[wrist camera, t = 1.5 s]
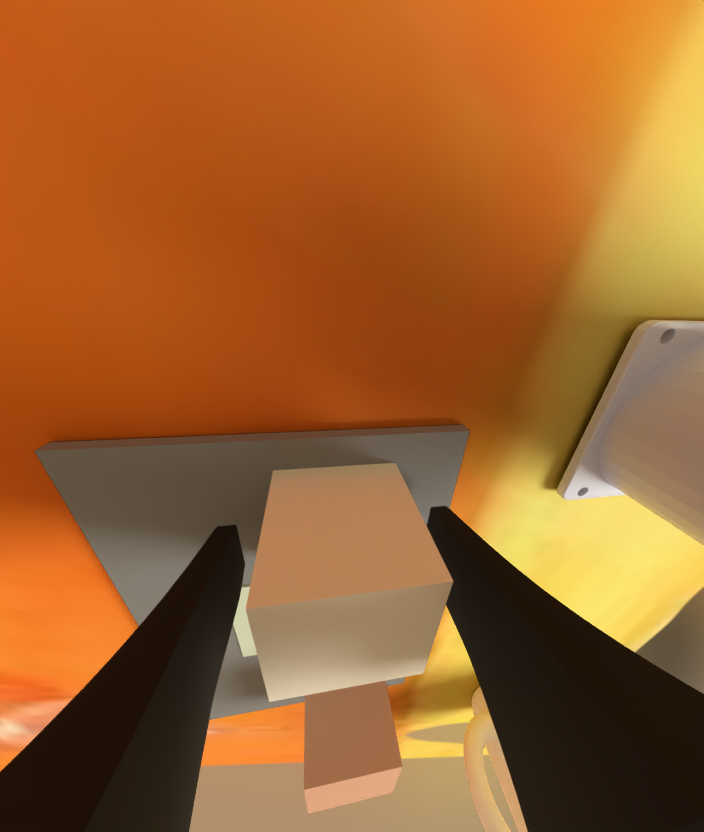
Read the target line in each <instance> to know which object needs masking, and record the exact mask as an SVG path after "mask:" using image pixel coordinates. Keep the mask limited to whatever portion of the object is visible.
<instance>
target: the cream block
mask: <svg viewBox="0 0 704 832" xmlns="http://www.w3.org/2000/svg"><path fill="white" fill-rule="evenodd" d="M452 584H453V580H452V577H451V575H450V573H449V571H448V569H447V567H446V565H445V563H444V561H443V559H442V557H441V555H440V553H439V551H438V549H437V547H436V545H435V543H434V541H433V539H432V537H431V534H430V532H429V530H428V528H427V526H426V524H425V522H424V520H423V518H422V516H421V514H420V512H419V510H418V508H417V506H416V504H415V502H414V500H413V498H412V496H411V494H410V492H409V489H408V487H407V485H406V483H405V481H404V479H403V477H402V475H401V473H400V471H399V469H398V467H397V465H396V463H384V464H367V465H351V466H335V467H319V468H303V469H287V470H273V474H272V479H271V484H270V489H269V494H268V499H267V504H266V509H265V514H264V519H263V524H262V529H261V534H260V539H259V544H258V549H257V554H256V559H255V564H254V569H253V574H252V579H251V584H250V589H249V594H248V599H247V604H246V613H247V617H248V621H249V625H250V629H251V633H252V636H253V640H254V644H255V648H256V652H257V656H258V660H259V664H260V668H261V672H262V676H263V679H264V683H265V687H266V691H267V695H268V699H269V702H272V701H278V700H283V699H289V698H294V697H299V696H305V695H310V694H316V693H321V692H326V691H332V690H337V689H343V688H348V687H353V686H359V685H364V684H369V683H375V682H380V681H386V680H391V679H396V678H402V677H407V676H413V675H418V674H423V673H424V670H425V666H426V663H427V660H428V657H429V654H430V651H431V648H432V645H433V642H434V639H435V636H436V633H437V630H438V627H439V624H440V621H441V617H442V614H443V611H444V608H445V605H446V602H447V599H448V596H449V593H450V590H451V587H452Z"/></svg>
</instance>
